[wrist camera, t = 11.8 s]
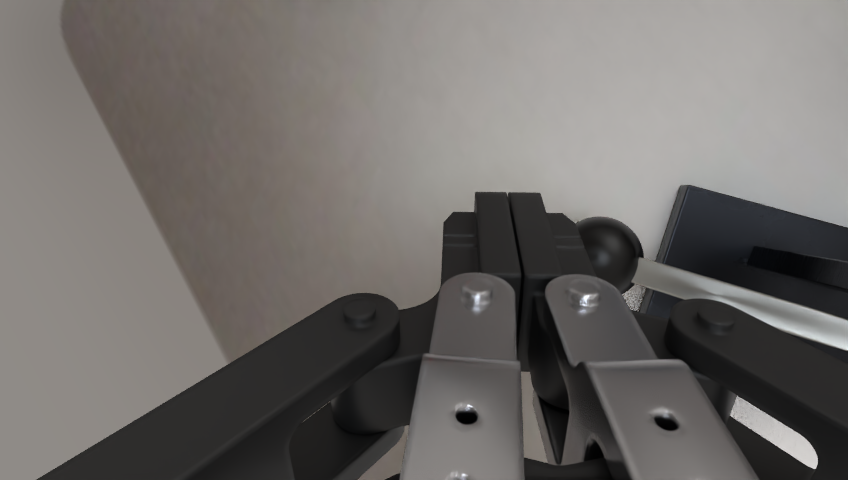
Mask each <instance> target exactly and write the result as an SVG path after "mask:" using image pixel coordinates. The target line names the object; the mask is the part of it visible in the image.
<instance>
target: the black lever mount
mask: <svg viewBox="0 0 848 480" xmlns="http://www.w3.org/2000/svg"><path fill="white" fill-rule="evenodd" d="M656 262H659V263H663V264H666V265H669V266H673V267H676V268H679V269H683V270H686V271H690V272H693V273H696V274H700V275H703V276H706V277H710V278H713V279H717V280H720V281H723V282H727V283H730V284H733V285H737V286H740V287H744V288H747V289H750V290H754V291H757V292H760V293H764V294H767V295H771V296H774V297H777V298H781V299H784V300H787V301H791V302H794V303H798V304H801V305H804V306H808V307H811V308H814V309H818V310H821V311H825V312H828V313H831V314H835V315H838V316H841V317H845V318H848V228H846V227H843V226H839V225H835V224H832V223H828V222H824V221H821V220H817V219H813V218H810V217H806V216H802V215H799V214H795V213H791V212H787V211H784V210H780V209H776V208H773V207H769V206H765V205H762V204H758V203H754V202H751V201H747V200H743V199H740V198H736V197H732V196H729V195H725V194H721V193H718V192H714V191H710V190H706V189H703V188H699V187H695V186H692V185H683V186H680V189H679V192H678V195H677V198H676V201H675V204H674V207H673V210H672V214H671V217H670V220H669V223H668V226H667V229H666V232H665V235H664V238H663V241H662V244H661V247H660V250H659V253H658V256H657V259H656ZM682 300H684V299H681V298H678V297H675V296H671V295H668V294H665V293H662V292H659V291H656V290H653V289H650V288H647V290H646V293H645V296H644V299H643V302H642V305H641V308H640V311H639V312H640V313H644V314H649V315H653V316H658V317H663V318H667V319H669V316H670V312H671V309H672V307H673V306H674V305H675V304H676V303H678V302H680V301H682ZM785 333H786V332H785ZM787 334H789V333H787ZM789 335H791V336H793V337H795V338H797V339H799V340H801V341H803V342H805V343H807V344H809V345H811V346H813V347H815V348H817V349H819V350H821V351H823V352H825V353H827V354H829V355H831V356H833V357H835V358H837V359H839V360H841V361H843V362H845V363H847V364H848V352H845V351H842V350H839V349H835V348H832V347H829V346H826V345H823V344H820V343H817V342H814V341H811V340H808V339H804V338H801V337H798V336H795V335H792V334H789Z"/></svg>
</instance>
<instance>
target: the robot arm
mask: <svg viewBox="0 0 848 480" xmlns="http://www.w3.org/2000/svg"><path fill="white" fill-rule="evenodd" d="M521 371H525V372H530V375H531V381H532V385H533V388H534V391H533V406H534V410H535V414H536V418H537V422H538V426H539V430H540V433H541V437H542V441H543V445H544V449H545V453H546V457H547V461H548V463H544V462H540V461H536V460H532V459H528V458H524V450H523V421H522V391H521ZM737 395H738V396H739V397H741V398H742V399H744V400H746V401H747V402H749V403H751V404H752V405H754V406H755V407H757V408H759V409H760V410H762V411H763V412H765V413H767V414H768V415H770V416H772V417H773V418H775V419H776V420H778V421H780V422H781V423H783V424H785V425H786V426H788V427H789V428H791V429H793V430H794V431H796V432H798V433H799V434H800V435H802V436H803V437H804V438H806V439H807V440H808V441H809V442H810V444H811V445H812V446H813V448H814V449H815V451H816V454H817V456H818V465H817V468H816V470H815V469H812V468H810V467H808V466H806V465H805V464H803V463H802V462H800V461H798V460H797V459H795V458H794V457H792V456H791V455H789V454H788V453H786V452H785V451H783V450H782V449H780V448H778V447H777V446H775V445H774V444H772V443H771V442H769V441H768V440H766V439H765V438H763V437H762V436H760V435H758V434H757V433H755V432H754V431H752V430H751V429H749V428H748V427H746V426H745V425H743V424H742V423H740V422H738V421H737V420H735V419H734V418H732V417H731V416H730V413H731V410H732V408H733V405H734V402H735V400H736V397H737ZM329 401H330V402H329ZM328 402H329V403H328ZM327 403H328V404H327ZM325 404H327V405H325ZM324 405H325V406H324ZM323 406H324V407H323ZM321 407H323V408H321ZM320 408H321V409H320ZM319 409H320V410H319ZM317 410H319V411H317ZM316 411H317V412H316ZM315 412H316V413H315ZM313 413H315V414H313ZM312 414H313V415H312ZM311 415H312V416H311ZM309 416H311V417H309ZM308 417H309V418H308ZM307 418H308V419H307ZM305 419H307V420H305ZM304 420H305V421H304ZM303 421H304V422H303ZM302 422H303V423H302ZM406 425H410V426H409V431H408V436H407V442H406V447H405V452H404V457H403V463H402V468H401V473H399V474H396V475H394V476H392V477H390V478H387V479H385V480H848V364H847V363H845V362H843V361H841V360H839V359H837V358H835V357H833V356H831V355H829V354H827V353H825V352H823V351H821V350H819V349H817V348H815V347H813V346H811V345H809V344H807V343H805V342H803V341H801V340H799V339H797V338H795V337H793V336H791V335H789V334H787V333H785V332H783V331H781V330H779V329H777V328H775V327H773V326H771V325H769V324H767V323H765V322H763V321H761V320H760V319H758V318H756V317H754V316H752V315H750V314H748V313H746V312H744V311H742V310H740V309H738V308H736V307H733V306H731V305H729V304H726V303H723V302H720V301H716V300H710V299H702V298H693V299H686V300H682V301H680V302H678V303H676V304H675V305H674V306H673V307H672V309H671V312H670V316H669V319H667V318H663V317H658V316H653V315H649V314H644V313H640V312H636V311H633V310H630V308H629V307H628V305H627V303H626V301H625V300H624V298H623V296H622V294H621V293H620V291H619V290H618V289H617V288H616V287H615V286H613V285H612V284H610V283H608V282H607V281H605V280H602V279H600V278H597V277H596V275H595V272H594V270H593V267H592V265H591V262H590V259H589V257H588V254H587V252H586V249H584V244H583V241H582V239H581V236H580V234H579V231H578V229H577V226H576V224H575V223H574V222H572V221H571V220H570V219H569V218H568V217H566V216H565V215H564V214H563V213H546V210H545V207H544V204H543V200H542V197H541V194H540V193H511V192H509V193H508V196H507V193H506V192H475V206H474V212H453V213H452V214H451V215H450V216H449V217H448V218H447V219H446V220H445V222H444V227H443V250H442V273H441V287H440V289H439V291H438V293H437V294H436V295H435V296H434V297H433V298H432V299H430V300H429V301H427V302H426V303H424V304H421V305H419V306H416V307H412V308H408V309H403V310H398V307H397V306H396V304H395V303H394V302H392V301H391V300H390V299H388V298H386V297H384V296H381V295H377V294H372V293H357V294H351V295H347V296H344V297H341V298H338V299H337V300H335V301H333V302H331V303H330V304H328V305H326V306H325V307H323V308H321V309H320V310H318V311H316V312H315V313H313V314H311V315H310V316H308V317H306V318H305V319H303V320H301V321H300V322H298V323H296V324H295V325H293V326H291V327H290V328H288V329H286V330H285V331H283V332H281V333H280V334H278V335H276V336H275V337H273V338H271V339H270V340H268V341H266V342H265V343H263V344H261V345H260V346H258V347H256V348H255V349H253V350H251V351H250V352H248V353H246V354H245V355H243V356H241V357H240V358H238V359H236V360H235V361H233V362H231V363H230V364H228V365H226V366H225V367H223V368H221V369H220V370H218V371H216V372H215V373H213V374H212V375H210V376H208V377H206V378H205V379H203V380H201V381H200V382H198V383H196V384H195V385H193V386H192V387H190V388H188V389H186V390H185V391H183V392H181V393H180V394H178V395H176V396H175V397H173V398H172V399H170V400H168V401H167V402H165V403H163V404H162V405H160V406H158V407H157V408H155V409H153V410H152V411H150V412H149V413H147V414H145V415H143V416H142V417H140V418H138V419H137V420H135V421H133V422H132V423H130V424H128V425H127V426H125V427H123V428H122V429H120V430H119V431H117V432H115V433H113V434H112V435H110V436H109V437H107V438H105V439H103V440H102V441H100V442H98V443H97V444H95V445H93V446H92V447H90V448H88V449H87V450H85V451H84V452H82V453H80V454H78V455H77V456H75V457H74V458H72V459H70V460H68V461H67V462H65V463H64V464H62V465H60V466H58V467H57V468H55V469H53V470H52V471H50V472H48V473H47V474H45V475H43V476H42V477H40V478H38V479H37V480H357V479H358V478H359V477H360V476H361V475H362V474H364V473H365V472H366V471H367V470H368V469H369V468H370V467H371V466H372V465H373V464H375V463H376V462H377V461H378V460H379V459H380V458H381V457H382V456H383V455H384V454H386V453H387V452H388V451H389V450H390V449H391V448H392V447H393V446H394V445H395V444H396V443H397V442H398V441H399V440H400V438H401V437H402V434H403V432H404V426H406Z"/></svg>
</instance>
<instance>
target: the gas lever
mask: <svg viewBox="0 0 848 480" xmlns="http://www.w3.org/2000/svg"><path fill="white" fill-rule="evenodd" d="M576 226H577V229H578V231H579V234H580V236H581V239H582V241H583V244H584V249H586V252H587V254H588V257H589V259H590V262H591V265H592V267H593V270H594V272H595V275H596V277H597V278H600V279H602V280H605V281H607V282H608V283H610V284H612V285H613V286H615V287H616V288H617V289H618V290H619V291H620V293H621V294H623V293H625V292H626V291H628V290H629V289H630V288H631V287H632V286H633V285H634V284H637V285H640V286H644V287H647V288H650V289H653V290H656V291H659V292H662V293H665V294H668V295H671V296H675V297H678V298H681V299H684V300H686V299H693V298H702V299H710V300H716V301H720V302H723V303H726V304H729V305H731V306H733V307H736V308H738V309H740V310H742V311H744V312H746V313H748V314H750V315H752V316H754V317H756V318H758V319H760V320H761V321H763V322H765V323H767V324H769V325H771V326H773V327H775V328H777V329H779V330H781V331H783V332H786V333H789V334H792V335H795V336H798V337H801V338H804V339H808V340H811V341H814V342H817V343H820V344H823V345H826V346H829V347H832V348H835V349H839V350H842V351H845V352H848V318H845V317H841V316H838V315H835V314H831V313H828V312H825V311H821V310H818V309H814V308H811V307H808V306H804V305H801V304H798V303H794V302H791V301H787V300H784V299H781V298H777V297H774V296H771V295H767V294H764V293H760V292H757V291H754V290H750V289H747V288H744V287H740V286H737V285H733V284H730V283H727V282H723V281H720V280H717V279H713V278H710V277H706V276H703V275H700V274H696V273H693V272H690V271H686V270H683V269H679V268H676V267H673V266H669V265H666V264H663V263H659V262H656V261H652V260H649V259H646V258H644V257H643V249H642V246H641V243H640V241H639V239H638V237H637V236H636V234H635V233H634V232H633V231H632V230H631V229H630V228H629V227H628V226H626V225H625V224H623V223H622V222H620V221H618V220H615V219H612V218H608V217H591V218H587V219H584V220H582V221H580V222H577V223H576Z"/></svg>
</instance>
